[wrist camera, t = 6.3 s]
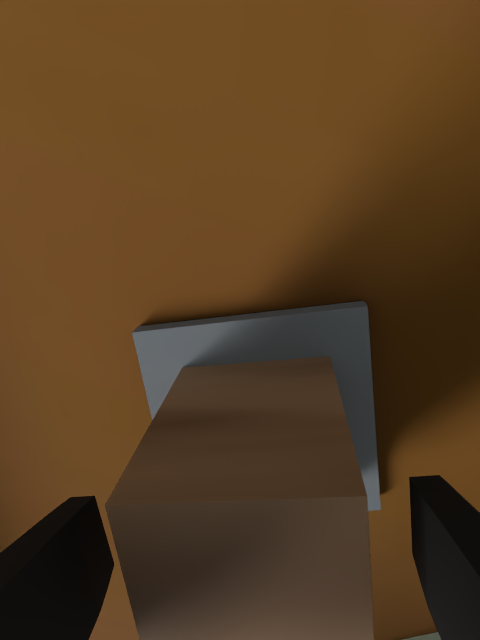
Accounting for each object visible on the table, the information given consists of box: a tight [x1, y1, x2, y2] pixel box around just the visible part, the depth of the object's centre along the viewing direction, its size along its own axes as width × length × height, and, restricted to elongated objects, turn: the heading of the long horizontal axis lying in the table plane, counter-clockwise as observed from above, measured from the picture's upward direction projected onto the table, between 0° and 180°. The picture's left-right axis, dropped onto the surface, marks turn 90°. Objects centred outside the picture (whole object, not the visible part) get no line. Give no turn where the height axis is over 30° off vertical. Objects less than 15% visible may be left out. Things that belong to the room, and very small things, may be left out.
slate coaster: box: [132, 301, 381, 511], centre depth 14 cm, size 7×7×1 cm
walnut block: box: [105, 356, 374, 640], centre depth 11 cm, size 4×4×6 cm
